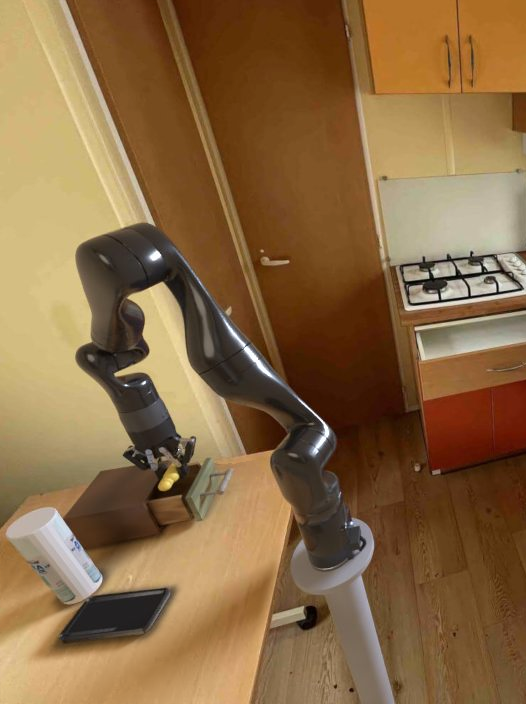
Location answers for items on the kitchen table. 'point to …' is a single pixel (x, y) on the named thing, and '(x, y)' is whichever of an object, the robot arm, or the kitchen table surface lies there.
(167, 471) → the yellow cheese puff
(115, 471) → the cabinet
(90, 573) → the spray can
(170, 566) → the kitchen table surface
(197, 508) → the drawer
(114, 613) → the phone
